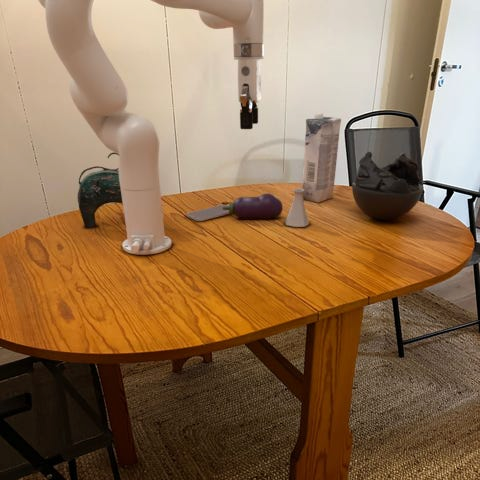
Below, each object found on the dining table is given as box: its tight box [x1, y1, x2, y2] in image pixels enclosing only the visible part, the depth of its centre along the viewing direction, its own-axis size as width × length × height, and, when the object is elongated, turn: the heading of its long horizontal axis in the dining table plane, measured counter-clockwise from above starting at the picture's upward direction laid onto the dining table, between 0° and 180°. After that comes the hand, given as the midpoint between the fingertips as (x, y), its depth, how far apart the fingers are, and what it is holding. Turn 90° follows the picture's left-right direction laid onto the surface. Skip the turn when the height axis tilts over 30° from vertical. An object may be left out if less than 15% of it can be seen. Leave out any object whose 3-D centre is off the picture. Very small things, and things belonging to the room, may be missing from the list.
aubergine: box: [223, 192, 284, 220], centre depth 134 cm, size 7×18×7 cm, turn 91°
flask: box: [284, 188, 310, 228], centre depth 129 cm, size 7×7×10 cm
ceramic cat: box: [77, 151, 123, 229], centre depth 127 cm, size 20×6×20 cm, turn 108°
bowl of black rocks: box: [351, 151, 424, 221], centre depth 130 cm, size 20×20×19 cm
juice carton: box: [301, 113, 342, 203], centre depth 148 cm, size 9×10×27 cm
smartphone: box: [186, 204, 230, 222], centre depth 139 cm, size 7×1×15 cm
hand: (249, 126), depth 120 cm, fingers open, 9 cm apart
